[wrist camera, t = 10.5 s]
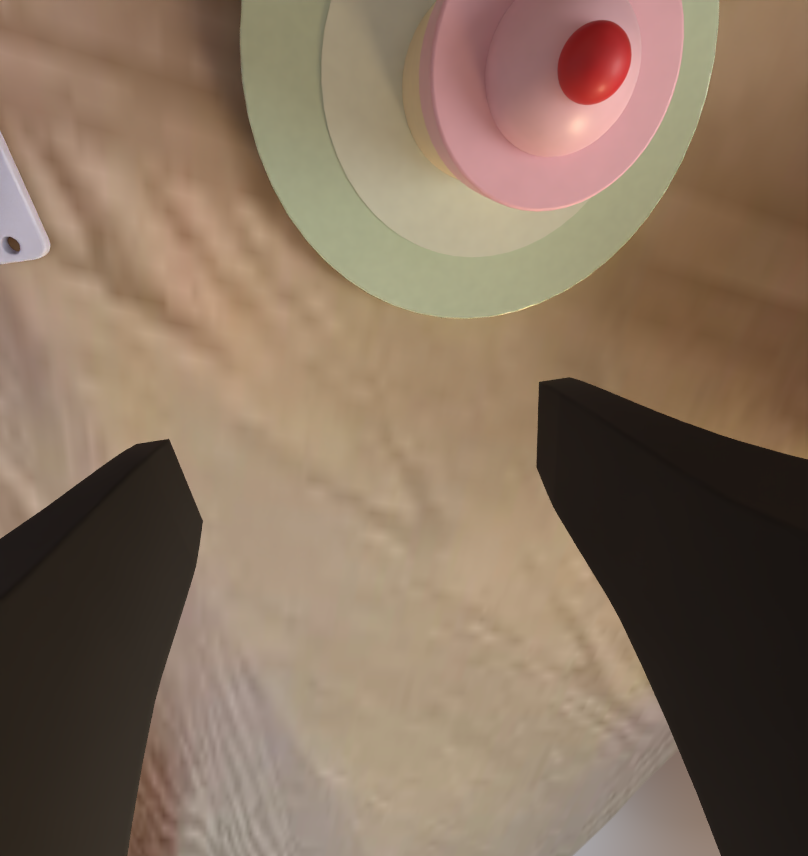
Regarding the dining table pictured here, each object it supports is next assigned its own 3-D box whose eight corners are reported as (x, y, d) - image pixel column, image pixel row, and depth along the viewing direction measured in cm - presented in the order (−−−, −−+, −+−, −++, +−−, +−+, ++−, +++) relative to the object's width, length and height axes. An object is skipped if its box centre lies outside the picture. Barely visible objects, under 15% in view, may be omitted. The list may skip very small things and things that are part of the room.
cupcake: (408, 196, 16) (461, 247, 10) (387, -17, 14) (441, -153, 7) (568, 174, 16) (728, 209, 10) (579, -39, 14) (809, -191, 7)
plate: (301, 337, 19) (299, 346, 18) (171, -235, 12) (161, -259, 11) (664, 284, 20) (677, 290, 19) (753, -290, 12) (780, -315, 12)
